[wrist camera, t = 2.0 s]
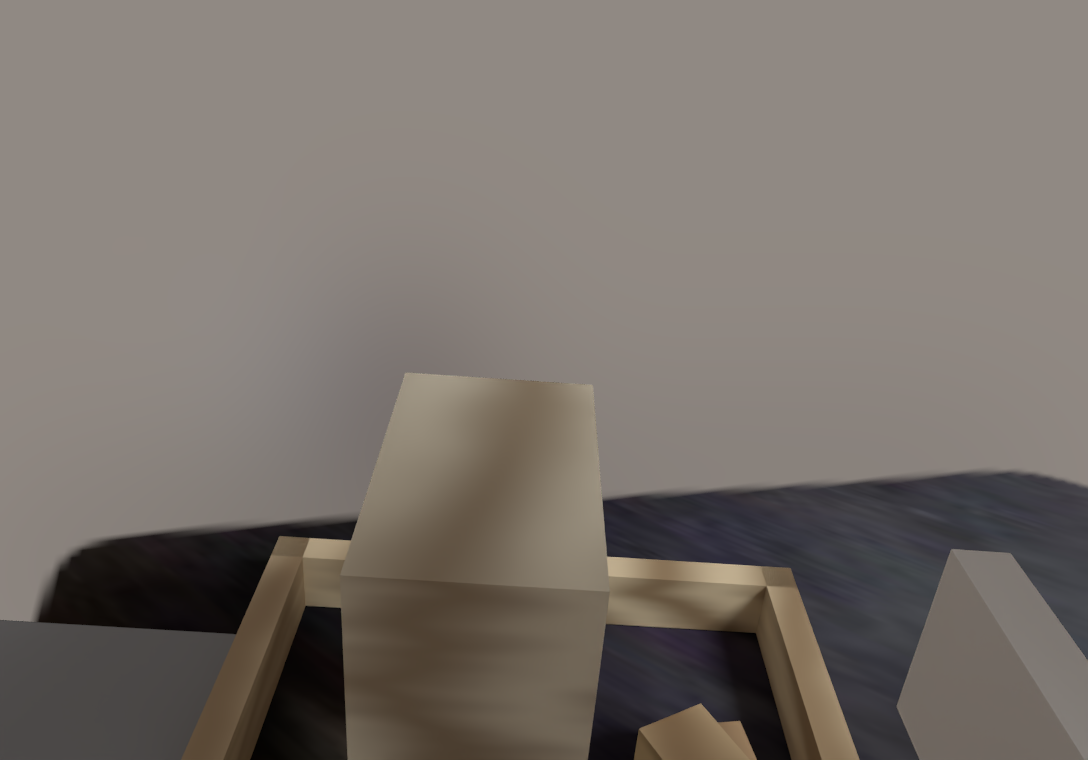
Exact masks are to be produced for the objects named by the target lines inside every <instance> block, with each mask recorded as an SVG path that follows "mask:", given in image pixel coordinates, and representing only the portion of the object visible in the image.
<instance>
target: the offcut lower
mask: <svg viewBox="0 0 1088 760" xmlns="http://www.w3.org/2000/svg"><path fill="white" fill-rule="evenodd" d="M718 724H719V725H720V726H721V727H722V728H723V730H724V731H725V732H726V733H727V734H728V735H729V736H730V738H731V739H732V740H733V741H734V742H735V743H736V744H737V746H738V747H739V748H740V749H741V750H742V751H743V753H744V754H745V755H746V756H747V757H748V758H749V759H750V760H757V759H756V757H755V754H754V752H753V750H752V747H751V745H750V743H749V740H748V738H747V736H746V734H745V731H744V729H743V727H742V724H741V722H740V721H732V722H720V723H718Z"/></svg>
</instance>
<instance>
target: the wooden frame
mask: <svg viewBox="0 0 1088 760" xmlns="http://www.w3.org/2000/svg"><path fill="white" fill-rule="evenodd" d="M350 543H351V541H346V540H330V539H314V538H298V537H282V536H279V539H278V541H277V543H276V546H275V548H274V550H273V552H272V555H271V557H270V559H269V561H268V564H267V566H266V568H265V570H264V573H263V575H262V577H261V580H260V582H259V584H258V586H257V589H256V591H255V593H254V595H253V598H252V600H251V602H250V605H249V607H248V609H247V611H246V614H245V616H244V618H243V620H242V623H241V625H240V627H239V629H238V632H237V634H236V636H235V639H234V641H233V643H232V645H231V648H230V650H229V652H228V654H227V657H226V659H225V661H224V663H223V666H222V668H221V670H220V673H219V675H218V677H217V679H216V682H215V684H214V686H213V688H212V691H211V693H210V695H209V697H208V700H207V702H206V704H205V707H204V709H203V711H202V713H201V716H200V718H199V720H198V722H197V725H196V727H195V729H194V731H193V734H192V736H191V738H190V741H189V743H188V745H187V747H186V750H185V752H184V754H183V756H182V759H181V760H250V759H251V756H252V753H253V751H254V748H255V745H256V742H257V740H258V737H259V734H260V731H261V728H262V726H263V723H264V720H265V717H266V715H267V712H268V709H269V706H270V703H271V701H272V698H273V695H274V692H275V689H276V687H277V684H278V681H279V678H280V676H281V673H282V670H283V667H284V664H285V662H286V659H287V656H288V653H289V650H290V648H291V645H292V642H293V639H294V637H295V634H296V631H297V628H298V625H299V623H300V620H301V617H302V614H303V611H304V609H305V606H320V607H337V608H341V589H340V574H341V570H342V567H343V564H344V561H345V558H346V555H347V552H348V549H349V546H350ZM607 564H608V576H609V588H610V594H609V602H608V609H607V617H606V624H617V625H633V626H649V627H666V628H682V629H699V630H715V631H732V632H748V633H756V635H757V639H758V642H759V646H760V649H761V653H762V657H763V660H764V664H765V667H766V671H767V674H768V678H769V681H770V685H771V689H772V692H773V696H774V699H775V703H776V706H777V710H778V713H779V717H780V721H781V724H782V728H783V731H784V735H785V738H786V742H787V746H788V749H789V753H790V756H791V760H859V757H858V755H857V752H856V749H855V746H854V744H853V741H852V738H851V735H850V732H849V730H848V727H847V724H846V721H845V719H844V716H843V713H842V710H841V708H840V705H839V702H838V699H837V696H836V694H835V691H834V688H833V685H832V683H831V680H830V677H829V674H828V672H827V669H826V666H825V663H824V660H823V658H822V655H821V652H820V649H819V647H818V644H817V641H816V638H815V636H814V633H813V630H812V627H811V625H810V622H809V619H808V616H807V613H806V611H805V608H804V605H803V602H802V600H801V597H800V594H799V591H798V589H797V586H796V583H795V580H794V577H793V575H792V572H791V569H790V568H779V567H763V566H747V565H731V564H715V563H699V562H683V561H667V560H651V559H635V558H619V557H607Z"/></svg>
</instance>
